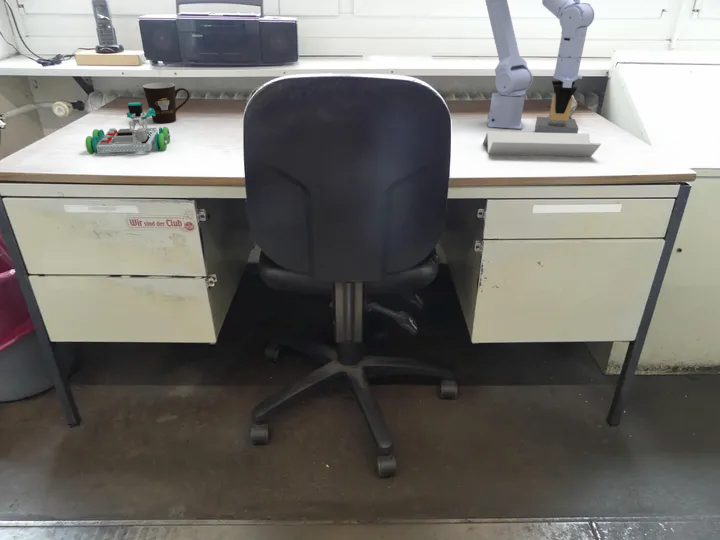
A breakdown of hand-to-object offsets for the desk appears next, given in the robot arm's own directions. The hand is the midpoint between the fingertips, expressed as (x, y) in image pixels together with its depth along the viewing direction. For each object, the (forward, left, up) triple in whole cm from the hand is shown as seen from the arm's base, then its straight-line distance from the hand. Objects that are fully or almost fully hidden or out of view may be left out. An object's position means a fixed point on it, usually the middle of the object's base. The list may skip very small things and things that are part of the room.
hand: (559, 111), depth 142 cm
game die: (+4, +22, -7) cm, 23 cm away
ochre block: (0, 0, -2) cm, 2 cm away
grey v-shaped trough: (-5, -16, -7) cm, 18 cm away
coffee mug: (-108, -14, -7) cm, 110 cm away
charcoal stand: (0, 0, -7) cm, 7 cm away
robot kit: (-105, -36, -8) cm, 112 cm away
